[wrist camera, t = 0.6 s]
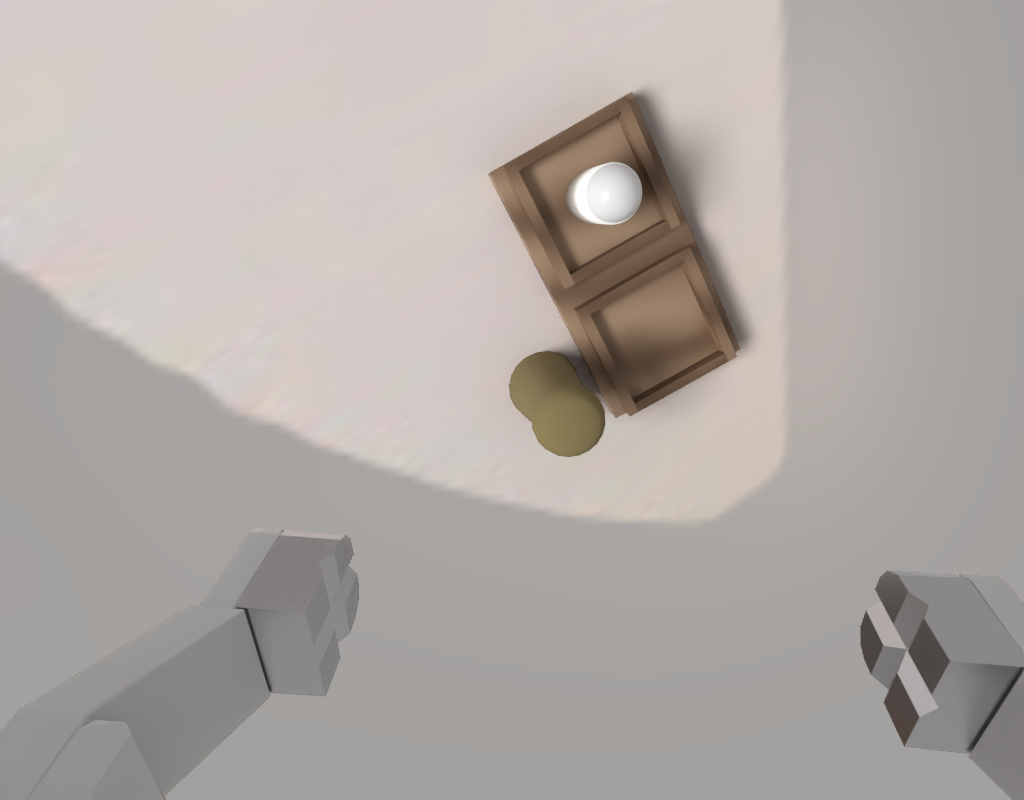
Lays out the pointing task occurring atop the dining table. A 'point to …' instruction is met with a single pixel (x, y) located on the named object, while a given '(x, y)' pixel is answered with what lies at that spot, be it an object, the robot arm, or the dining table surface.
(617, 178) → the salt cellar
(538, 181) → the cruet board
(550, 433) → the olive green stopper
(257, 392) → the dining table surface
